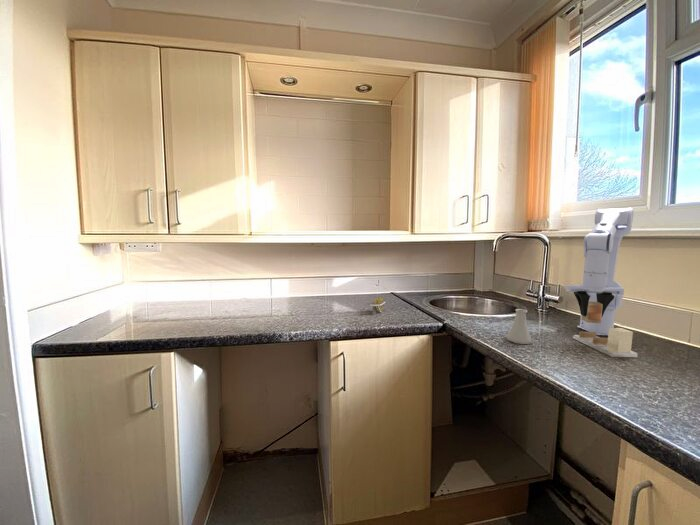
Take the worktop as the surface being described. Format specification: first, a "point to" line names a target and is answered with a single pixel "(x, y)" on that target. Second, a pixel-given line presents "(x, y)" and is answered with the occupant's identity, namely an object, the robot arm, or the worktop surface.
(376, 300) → the green irregular piece
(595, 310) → the block
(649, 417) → the worktop surface
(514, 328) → the flask
